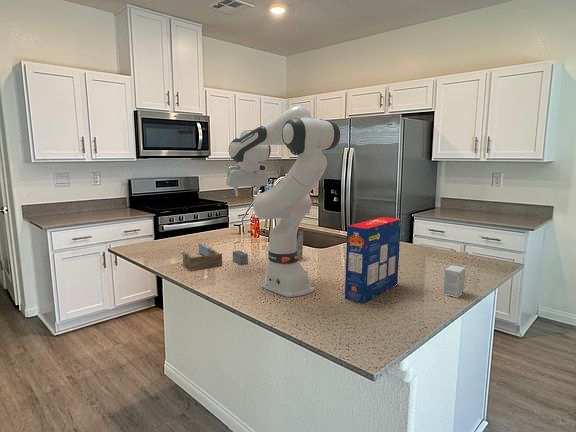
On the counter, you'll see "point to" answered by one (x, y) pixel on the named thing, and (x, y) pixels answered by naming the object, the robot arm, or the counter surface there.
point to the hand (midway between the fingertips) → (246, 195)
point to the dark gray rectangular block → (240, 257)
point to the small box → (454, 280)
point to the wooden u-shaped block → (202, 260)
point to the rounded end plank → (203, 249)
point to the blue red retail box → (372, 258)
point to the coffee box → (299, 243)
